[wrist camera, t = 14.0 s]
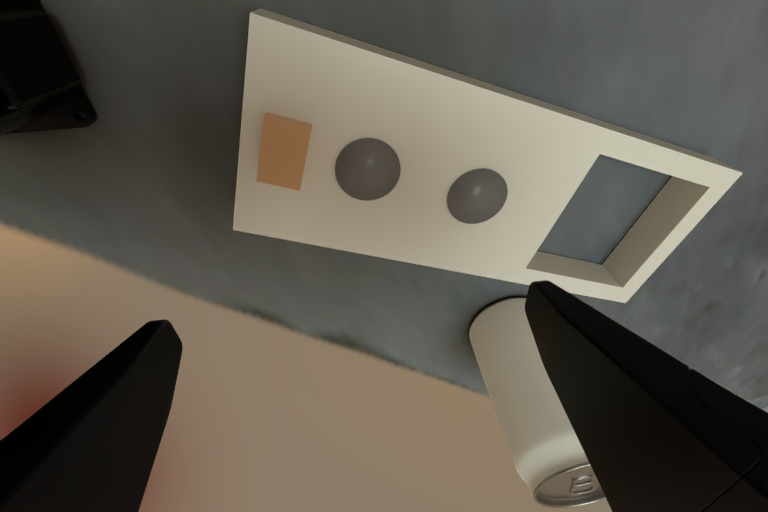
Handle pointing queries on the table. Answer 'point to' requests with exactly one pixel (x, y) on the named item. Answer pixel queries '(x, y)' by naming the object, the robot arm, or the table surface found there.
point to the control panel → (439, 165)
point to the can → (530, 409)
